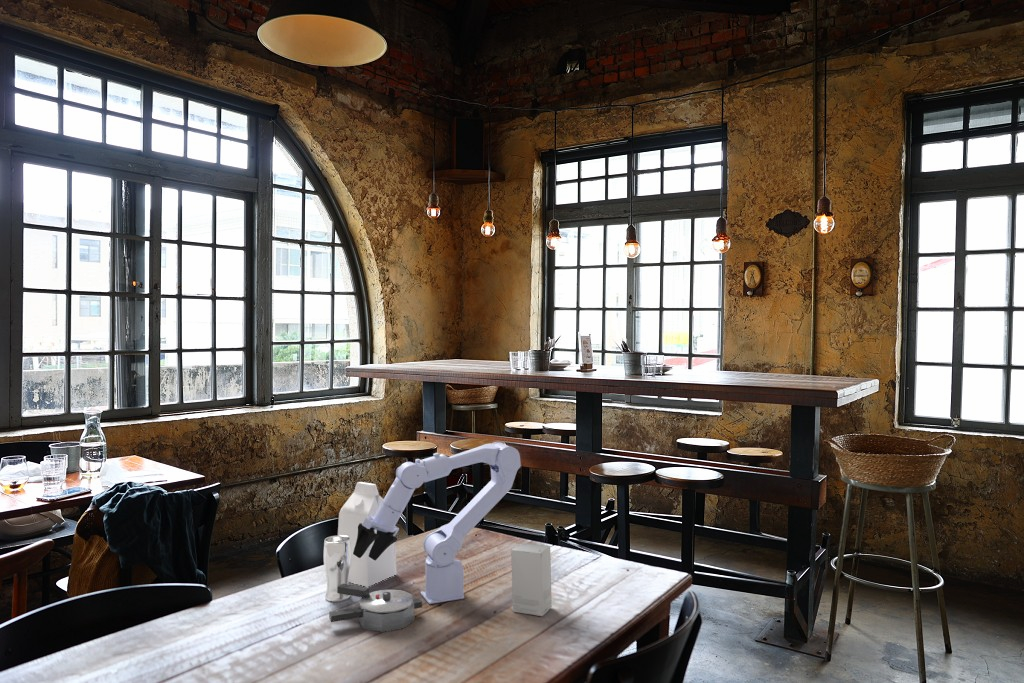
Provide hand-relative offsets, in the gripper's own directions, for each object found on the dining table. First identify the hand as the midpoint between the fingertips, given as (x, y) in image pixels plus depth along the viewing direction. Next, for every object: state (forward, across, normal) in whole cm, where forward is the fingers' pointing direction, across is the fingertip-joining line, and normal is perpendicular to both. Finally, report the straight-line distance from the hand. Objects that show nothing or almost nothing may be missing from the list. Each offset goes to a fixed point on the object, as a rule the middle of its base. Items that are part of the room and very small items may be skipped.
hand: (364, 557), depth 175 cm
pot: (+10, +2, +12) cm, 16 cm away
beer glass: (+14, -8, -5) cm, 16 cm away
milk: (+9, -22, -8) cm, 25 cm away
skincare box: (-8, -17, +39) cm, 43 cm away
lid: (+7, +1, +9) cm, 11 cm away
